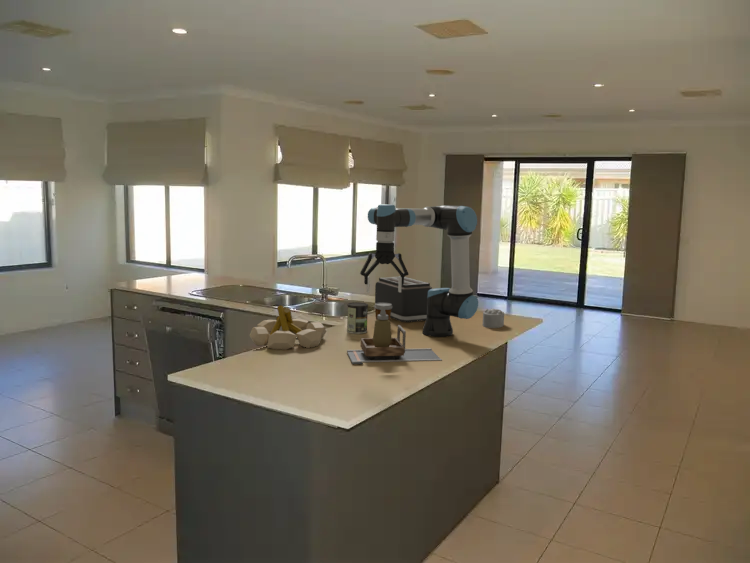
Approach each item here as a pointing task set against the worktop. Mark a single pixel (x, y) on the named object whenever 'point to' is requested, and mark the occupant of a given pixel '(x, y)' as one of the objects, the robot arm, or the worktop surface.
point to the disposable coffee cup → (387, 309)
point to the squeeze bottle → (382, 330)
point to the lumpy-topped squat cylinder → (493, 318)
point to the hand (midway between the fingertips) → (383, 292)
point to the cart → (393, 350)
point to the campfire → (287, 331)
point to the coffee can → (357, 318)
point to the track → (409, 355)
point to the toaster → (404, 298)
